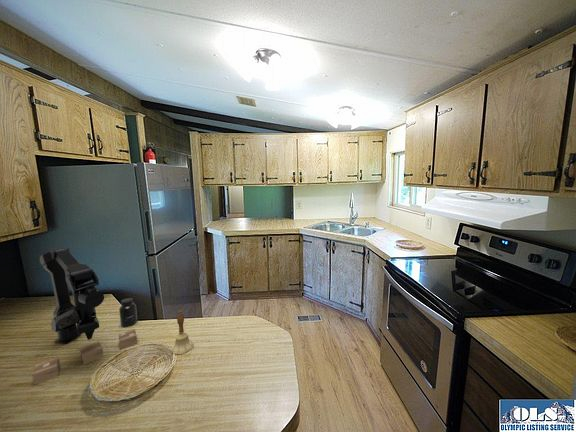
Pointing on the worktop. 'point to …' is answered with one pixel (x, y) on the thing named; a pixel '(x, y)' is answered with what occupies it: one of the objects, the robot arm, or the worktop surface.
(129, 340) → the two-pip walnut block
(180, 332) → the hand bell
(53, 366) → the one-pip walnut block
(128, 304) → the supplement bottle
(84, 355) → the plain walnut block
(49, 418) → the worktop surface
